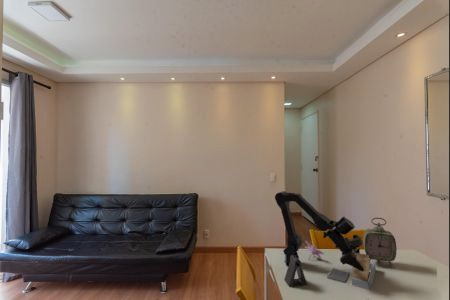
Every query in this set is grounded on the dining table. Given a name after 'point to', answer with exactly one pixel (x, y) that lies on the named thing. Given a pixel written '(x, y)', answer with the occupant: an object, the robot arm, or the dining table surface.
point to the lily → (313, 250)
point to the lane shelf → (371, 274)
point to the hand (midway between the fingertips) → (364, 268)
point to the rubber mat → (338, 275)
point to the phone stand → (292, 268)
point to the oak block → (364, 263)
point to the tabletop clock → (379, 244)
